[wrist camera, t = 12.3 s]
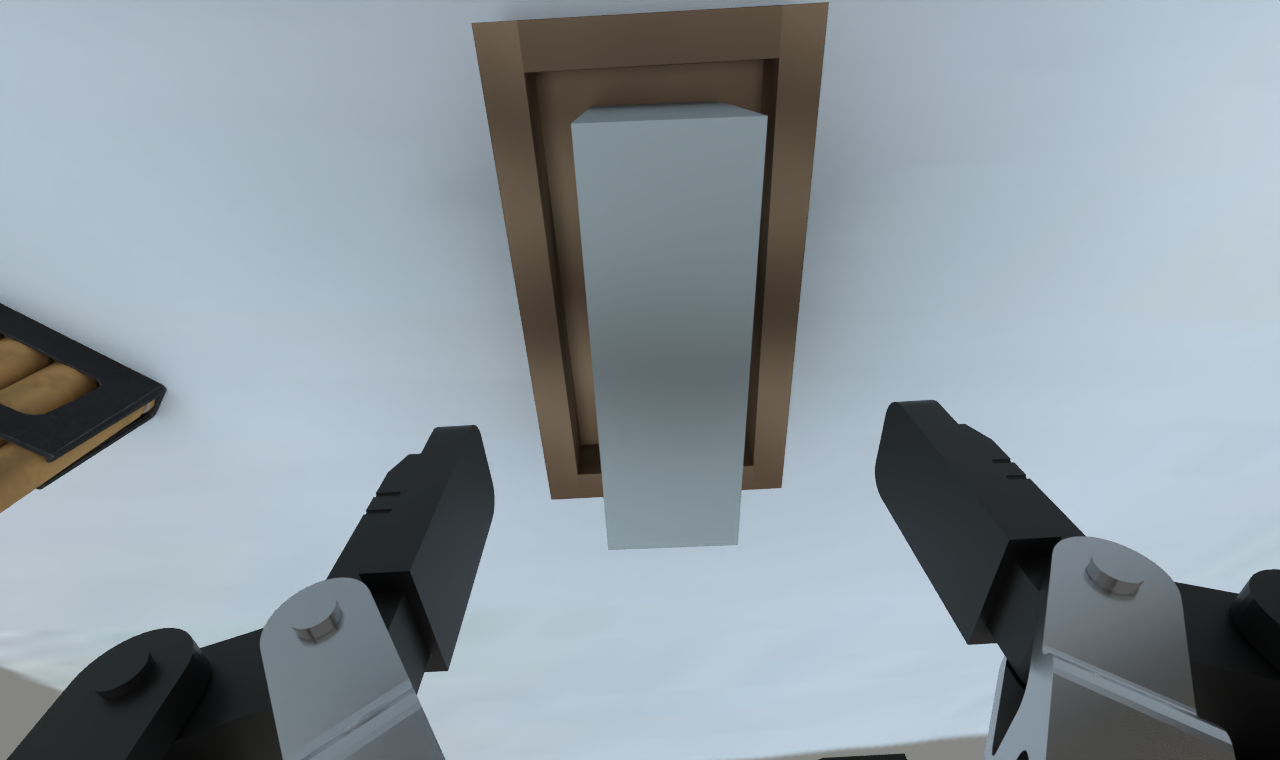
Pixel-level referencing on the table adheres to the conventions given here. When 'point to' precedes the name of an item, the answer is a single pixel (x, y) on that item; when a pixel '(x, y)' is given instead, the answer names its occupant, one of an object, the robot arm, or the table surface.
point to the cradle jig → (548, 205)
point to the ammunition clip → (60, 404)
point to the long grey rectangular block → (670, 310)
